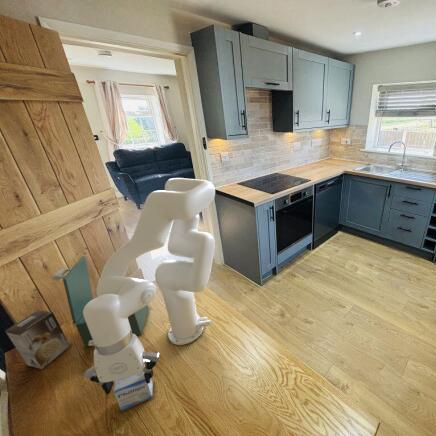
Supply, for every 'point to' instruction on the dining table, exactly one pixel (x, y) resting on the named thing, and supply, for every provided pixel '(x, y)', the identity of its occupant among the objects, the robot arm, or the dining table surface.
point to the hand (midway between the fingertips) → (130, 383)
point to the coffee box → (38, 338)
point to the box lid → (76, 287)
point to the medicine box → (132, 390)
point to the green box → (134, 320)
